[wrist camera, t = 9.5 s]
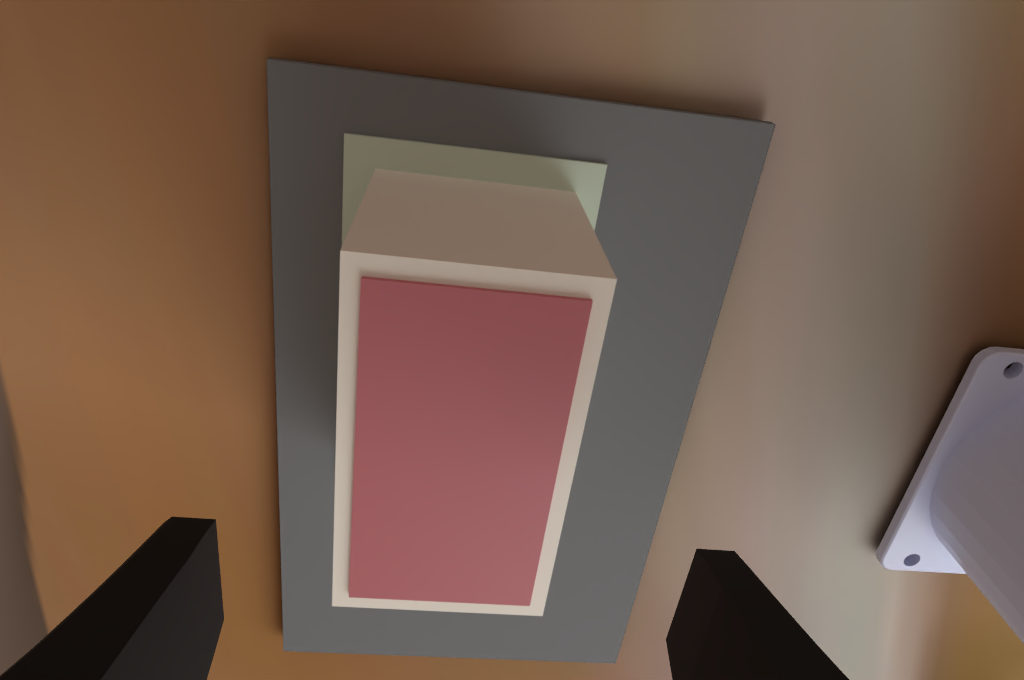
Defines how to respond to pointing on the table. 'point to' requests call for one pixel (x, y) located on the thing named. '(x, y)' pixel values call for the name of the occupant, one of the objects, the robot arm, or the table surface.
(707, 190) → the mat
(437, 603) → the card box
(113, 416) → the table surface
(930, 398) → the table surface
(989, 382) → the robot arm
